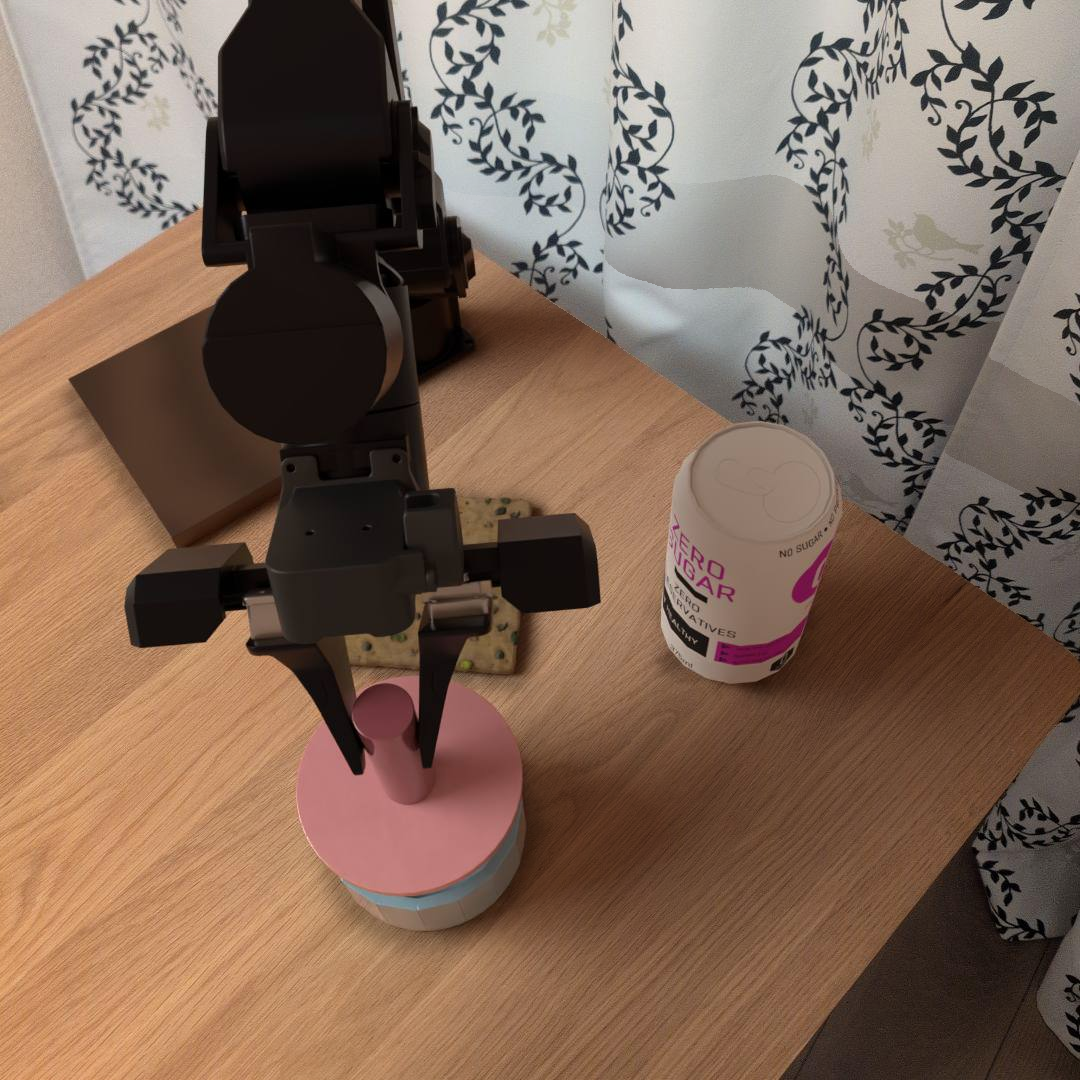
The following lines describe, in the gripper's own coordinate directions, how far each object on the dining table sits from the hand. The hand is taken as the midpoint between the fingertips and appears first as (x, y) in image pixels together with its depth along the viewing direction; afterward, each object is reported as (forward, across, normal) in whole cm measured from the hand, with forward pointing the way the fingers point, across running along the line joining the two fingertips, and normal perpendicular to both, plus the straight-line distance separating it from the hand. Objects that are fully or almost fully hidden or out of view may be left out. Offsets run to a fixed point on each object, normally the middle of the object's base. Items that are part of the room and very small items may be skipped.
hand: (393, 768), depth 50 cm
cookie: (-2, 0, +22) cm, 22 cm away
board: (-12, -14, +31) cm, 36 cm away
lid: (+3, 0, +5) cm, 6 cm away
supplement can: (+1, +18, +18) cm, 26 cm away
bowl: (+8, 0, +10) cm, 13 cm away
